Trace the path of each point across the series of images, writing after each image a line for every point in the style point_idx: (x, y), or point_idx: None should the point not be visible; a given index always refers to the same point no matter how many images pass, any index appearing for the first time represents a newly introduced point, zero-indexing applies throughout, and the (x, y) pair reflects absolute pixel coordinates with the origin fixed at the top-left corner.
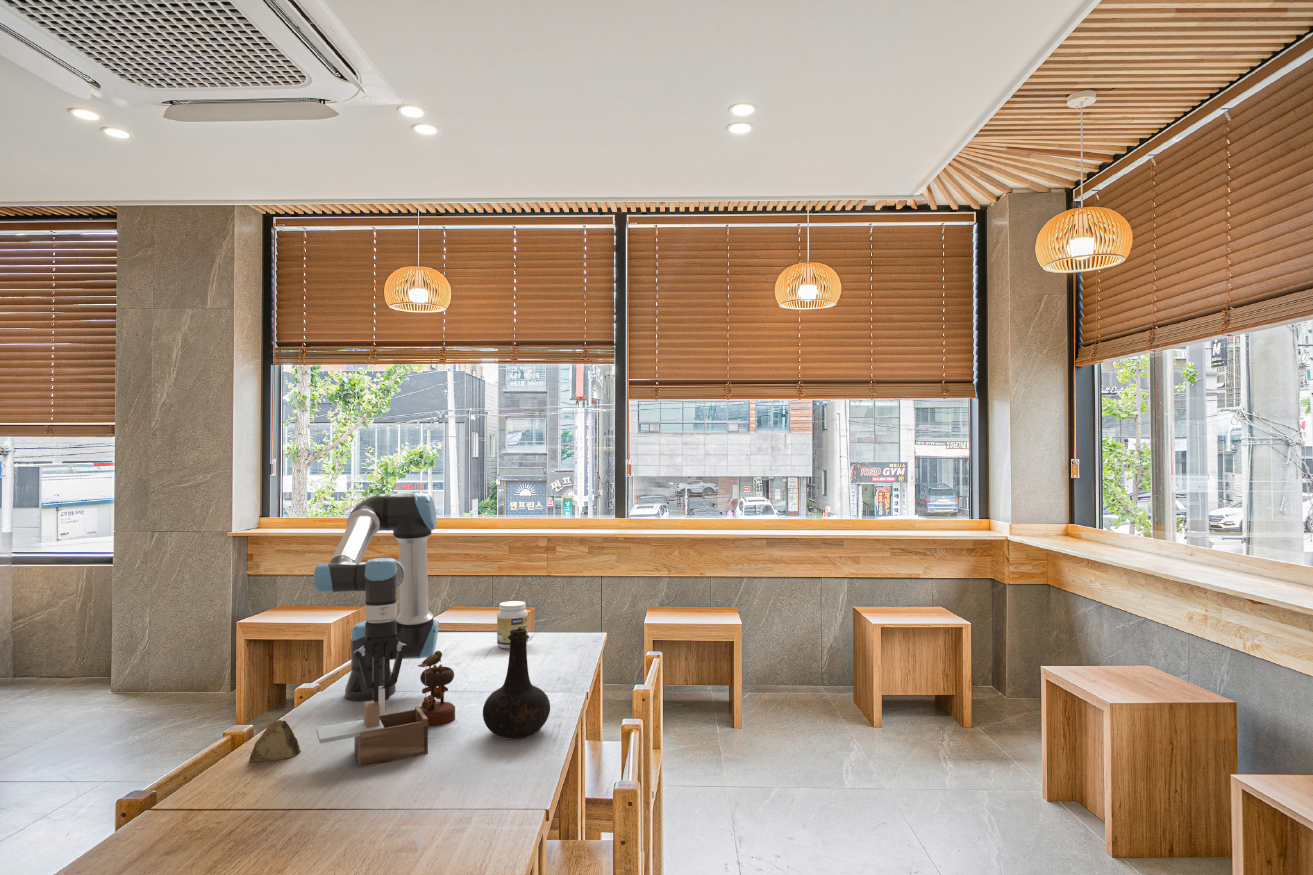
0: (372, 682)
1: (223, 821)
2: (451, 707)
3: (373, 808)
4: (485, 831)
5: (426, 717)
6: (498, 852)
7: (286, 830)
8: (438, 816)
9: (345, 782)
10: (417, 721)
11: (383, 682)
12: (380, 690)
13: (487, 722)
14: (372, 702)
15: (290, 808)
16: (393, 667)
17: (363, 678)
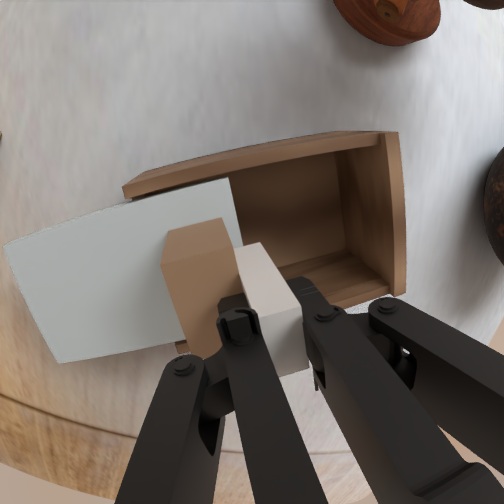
0: (230, 388)
1: (21, 425)
2: (438, 19)
3: (235, 451)
4: (357, 478)
5: (404, 279)
6: (353, 495)
7: (123, 469)
8: (321, 465)
9: (161, 366)
10: (367, 180)
11: (313, 338)
12: (278, 371)
13: (496, 235)
14: (213, 288)
15: (96, 427)
16: (448, 372)
17: (152, 412)
